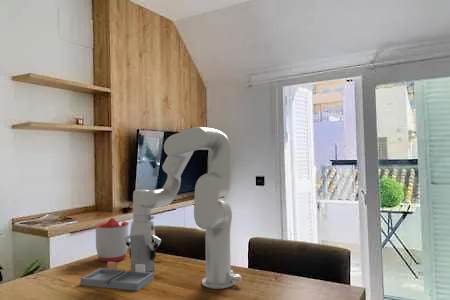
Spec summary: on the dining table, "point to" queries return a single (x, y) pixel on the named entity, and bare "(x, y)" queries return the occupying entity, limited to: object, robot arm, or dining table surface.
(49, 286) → the dining table surface
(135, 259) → the skincare box
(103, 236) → the citrus juicer
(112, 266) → the tray
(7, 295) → the dining table surface
